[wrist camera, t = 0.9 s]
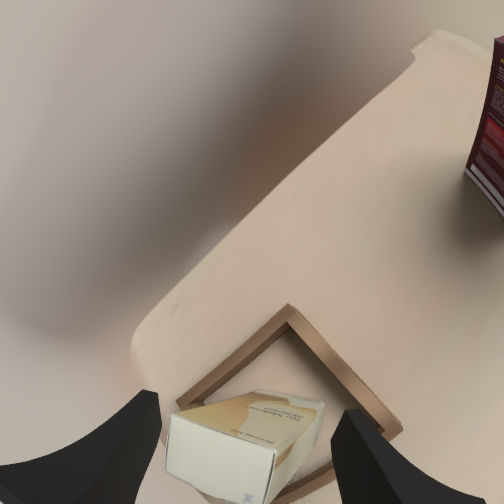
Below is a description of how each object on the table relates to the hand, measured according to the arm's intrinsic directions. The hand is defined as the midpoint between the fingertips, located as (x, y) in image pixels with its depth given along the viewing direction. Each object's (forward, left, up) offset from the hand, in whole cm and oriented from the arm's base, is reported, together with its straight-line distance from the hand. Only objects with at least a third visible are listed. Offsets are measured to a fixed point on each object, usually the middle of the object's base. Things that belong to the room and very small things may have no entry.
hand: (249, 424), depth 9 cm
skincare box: (-1, +4, -14) cm, 14 cm away
